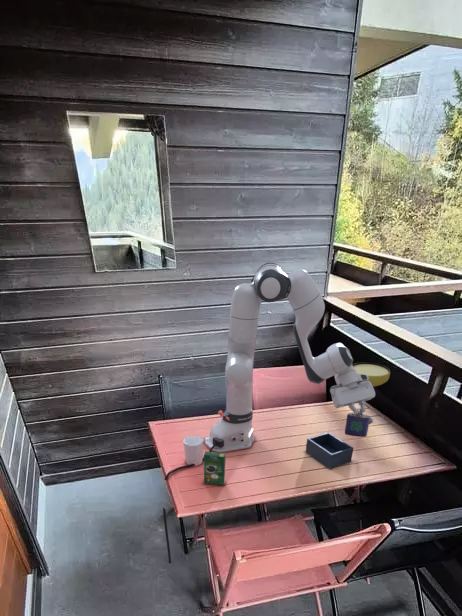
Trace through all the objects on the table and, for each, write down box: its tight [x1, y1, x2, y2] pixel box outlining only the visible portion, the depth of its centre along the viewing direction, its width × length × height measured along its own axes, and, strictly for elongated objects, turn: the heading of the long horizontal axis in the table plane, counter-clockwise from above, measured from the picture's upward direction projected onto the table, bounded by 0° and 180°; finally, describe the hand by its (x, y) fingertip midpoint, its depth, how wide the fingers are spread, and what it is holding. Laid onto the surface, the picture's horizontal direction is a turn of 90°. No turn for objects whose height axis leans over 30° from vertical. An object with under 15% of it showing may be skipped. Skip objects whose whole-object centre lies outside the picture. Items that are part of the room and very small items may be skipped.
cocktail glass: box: [352, 362, 391, 424], centre depth 208 cm, size 18×18×25 cm
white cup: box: [182, 435, 204, 467], centre depth 179 cm, size 8×8×10 cm
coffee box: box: [203, 451, 226, 486], centre depth 166 cm, size 8×3×13 cm, turn 80°
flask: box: [344, 411, 371, 438], centre depth 185 cm, size 9×3×11 cm, turn 70°
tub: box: [305, 432, 354, 470], centre depth 184 cm, size 12×16×6 cm
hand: (360, 413), depth 181 cm, fingers closed on flask, 2 cm apart
